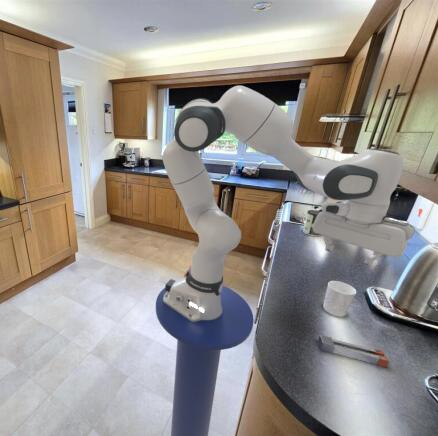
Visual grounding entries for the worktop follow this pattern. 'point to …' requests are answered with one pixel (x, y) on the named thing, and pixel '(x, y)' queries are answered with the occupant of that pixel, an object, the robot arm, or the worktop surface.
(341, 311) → the white cup
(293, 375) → the worktop surface
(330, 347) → the tongs
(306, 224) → the coffee can
